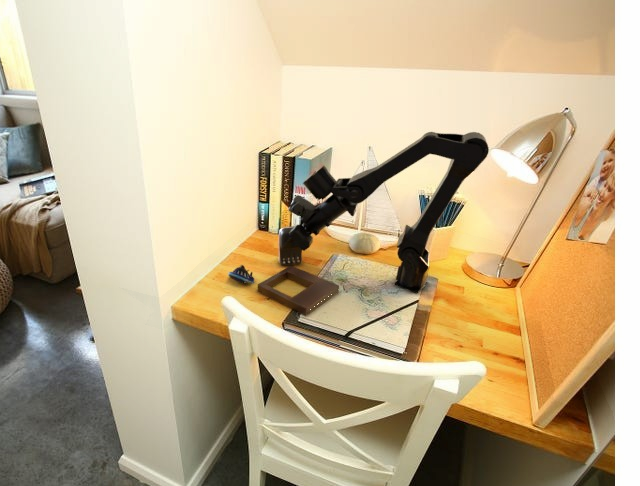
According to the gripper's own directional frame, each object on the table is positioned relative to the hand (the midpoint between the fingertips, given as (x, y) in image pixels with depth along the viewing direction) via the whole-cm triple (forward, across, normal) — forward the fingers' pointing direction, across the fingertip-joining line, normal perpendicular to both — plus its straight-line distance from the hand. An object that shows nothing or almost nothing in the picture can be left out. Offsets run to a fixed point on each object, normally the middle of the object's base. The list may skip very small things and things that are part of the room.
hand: (286, 243), depth 115 cm
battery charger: (+4, 0, +6) cm, 7 cm away
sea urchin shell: (-9, -17, +19) cm, 27 cm away
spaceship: (+11, +14, -1) cm, 18 cm away
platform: (-1, +14, +10) cm, 17 cm away
